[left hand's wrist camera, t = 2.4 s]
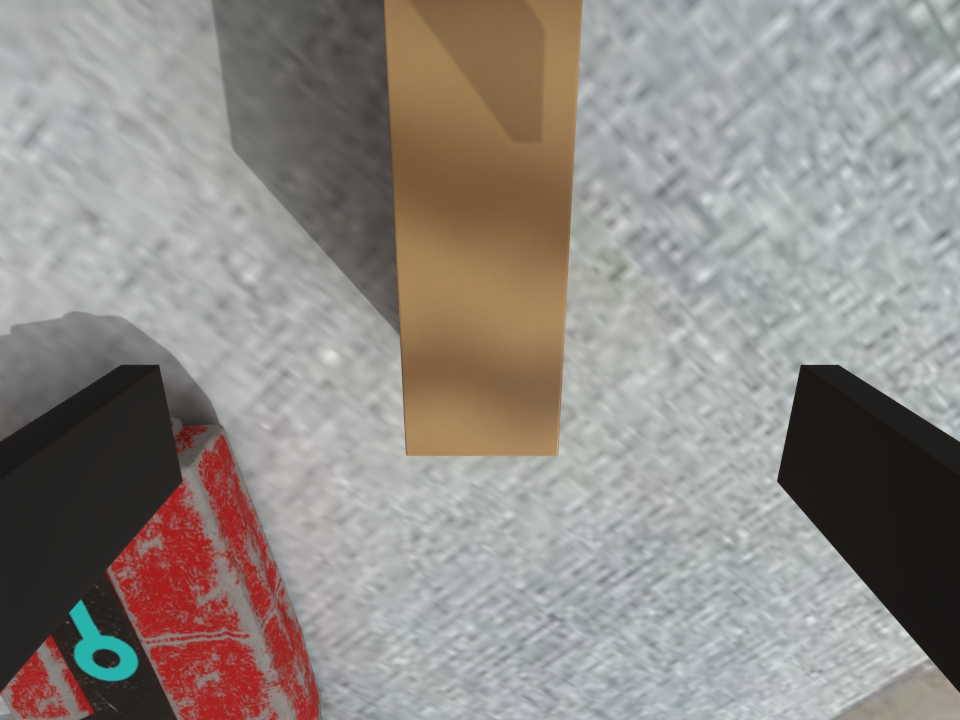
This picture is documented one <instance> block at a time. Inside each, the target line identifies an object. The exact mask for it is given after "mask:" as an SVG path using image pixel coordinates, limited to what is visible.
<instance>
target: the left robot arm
mask: <svg viewBox="0 0 960 720" xmlns="http://www.w3.org/2000/svg"><path fill="white" fill-rule="evenodd" d="M182 482H183V479H182V474H181V469H180V465H179V460H178V455H177V450H176V445H175V440H174V435H173V430H172V426H171V421H170V416H169V411H168V406H167V401H166V396H165V392H164V387H163V382H162V377H161V372H160V367H159V365H121V366H119V367H118V368H116V369H114V370H113V371H111V372H110V373H108V374H107V375H105V376H103V377H102V378H100V379H99V380H97V381H95V382H94V383H92V384H91V385H89V386H88V387H86V388H84V389H83V390H81V391H80V392H78V393H77V394H75V395H73V396H72V397H70V398H69V399H67V400H66V401H64V402H62V403H61V404H59V405H58V406H56V407H54V408H53V409H51V410H50V411H48V412H47V413H45V414H43V415H42V416H40V417H39V418H37V419H36V420H34V421H32V422H31V423H29V424H28V425H26V426H25V427H23V428H21V429H20V430H18V431H17V432H15V433H13V434H12V435H10V436H9V437H7V438H6V439H4V440H2V441H1V442H0V693H1V691H2V690H3V689H4V688H5V687H6V686H7V684H8V683H9V682H10V681H11V680H12V679H13V677H14V676H15V675H16V674H17V673H18V672H19V671H20V669H21V668H22V667H23V666H24V665H25V664H26V662H27V661H28V660H29V659H30V658H31V657H32V655H33V654H34V653H35V652H36V651H37V650H38V649H39V647H40V646H41V645H42V644H43V643H44V642H45V640H46V639H47V638H48V637H49V636H50V635H51V633H52V632H53V631H54V630H55V629H56V628H57V627H58V625H59V624H60V623H61V622H62V621H63V620H64V618H65V617H66V616H67V615H68V614H69V613H70V611H71V610H72V609H73V608H74V607H75V606H76V605H77V603H78V602H79V601H80V600H81V599H82V598H83V596H84V595H85V594H86V593H87V592H88V591H89V590H90V588H91V587H92V586H93V585H94V584H95V583H96V581H97V580H98V579H99V578H100V577H101V576H102V574H103V573H104V572H105V571H106V570H107V569H108V568H109V566H110V565H111V564H112V563H113V562H114V561H115V559H116V558H117V557H118V556H119V555H120V554H121V552H122V551H123V550H124V549H125V548H126V547H127V546H128V544H129V543H130V542H131V541H132V540H133V539H134V537H135V536H136V535H137V534H138V533H139V532H140V530H141V529H142V528H143V527H144V526H145V525H146V524H147V522H148V521H149V520H150V519H151V518H152V517H153V515H154V514H155V513H156V512H157V511H158V510H159V508H160V507H161V506H162V505H163V504H164V503H165V502H166V500H167V499H168V498H169V497H170V496H171V495H172V493H173V492H174V491H175V490H176V489H177V488H178V487H179V485H180V484H181V483H182ZM777 482H778V483H779V484H780V485H781V487H782V488H783V489H784V490H785V491H786V492H787V493H788V495H789V496H790V497H791V498H792V499H793V500H794V502H795V503H796V504H797V505H798V506H799V507H800V509H801V510H802V511H803V512H804V513H805V514H806V515H807V517H808V518H809V519H810V520H811V521H812V522H813V524H814V525H815V526H816V527H817V528H818V529H819V530H820V532H821V533H822V534H823V535H824V536H825V537H826V539H827V540H828V541H829V542H830V543H831V544H832V546H833V547H834V548H835V549H836V550H837V551H838V552H839V554H840V555H841V556H842V557H843V558H844V559H845V561H846V562H847V563H848V564H849V565H850V566H851V568H852V569H853V570H854V571H855V572H856V573H857V574H858V576H859V577H860V578H861V579H862V580H863V581H864V583H865V584H866V585H867V586H868V587H869V588H870V590H871V591H872V592H873V593H874V594H875V595H876V596H877V598H878V599H879V600H880V601H881V602H882V603H883V605H884V606H885V607H886V608H887V609H888V610H889V612H890V613H891V614H892V615H893V616H894V617H895V618H896V620H897V621H898V622H899V623H900V624H901V625H902V627H903V628H904V629H905V630H906V631H907V632H908V633H909V635H910V636H911V637H912V638H913V639H914V640H915V642H916V643H917V644H918V645H919V646H920V647H921V649H922V650H923V651H924V652H925V653H926V654H927V655H928V657H929V658H930V659H931V660H932V661H933V662H934V664H935V665H936V666H937V667H938V668H939V669H940V671H941V672H942V673H943V674H944V675H945V676H946V677H947V679H948V680H949V681H950V682H951V683H952V684H953V686H954V687H955V688H956V689H957V690H958V691H959V693H960V442H959V441H958V440H956V439H954V438H953V437H951V436H950V435H948V434H947V433H945V432H943V431H942V430H940V429H939V428H937V427H935V426H934V425H932V424H931V423H929V422H928V421H926V420H924V419H923V418H921V417H920V416H918V415H917V414H915V413H913V412H912V411H910V410H909V409H907V408H906V407H904V406H902V405H901V404H899V403H898V402H896V401H894V400H893V399H891V398H890V397H888V396H887V395H885V394H883V393H882V392H880V391H879V390H877V389H876V388H874V387H872V386H871V385H869V384H868V383H866V382H865V381H863V380H861V379H860V378H858V377H857V376H855V375H853V374H852V373H850V372H849V371H847V370H846V369H844V368H842V367H841V366H839V365H801V367H800V372H799V377H798V382H797V387H796V392H795V396H794V401H793V406H792V411H791V416H790V421H789V426H788V430H787V435H786V440H785V445H784V450H783V455H782V460H781V465H780V469H779V474H778V479H777Z"/></svg>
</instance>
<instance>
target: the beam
mask: <svg viewBox="0 0 960 720" xmlns="http://www.w3.org/2000/svg"><path fill="white" fill-rule="evenodd" d="M383 4H384V24H385V44H386V64H387V85H388V105H389V125H390V145H391V165H392V185H393V205H394V225H395V245H396V265H397V285H398V305H399V325H400V345H401V365H402V385H403V405H404V425H405V445H406V455H407V456H557V455H558V448H559V429H560V411H561V392H562V373H563V354H564V336H565V317H566V298H567V280H568V261H569V242H570V224H571V205H572V186H573V168H574V149H575V130H576V111H577V93H578V74H579V55H580V37H581V18H582V0H383Z"/></svg>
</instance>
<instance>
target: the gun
mask: <svg viewBox="0 0 960 720" xmlns="http://www.w3.org/2000/svg"><path fill="white" fill-rule="evenodd" d="M170 421H171V426H172V430H173V435H174V440H175V445H176V450H177V455H178V460H179V465H180V469H181V474H182V479H183V482H182V483H181V484H180V485H179V487H178V488H177V489H176V490H175V491H174V492H173V493H172V495H171V496H170V497H169V498H168V499H167V500H166V502H165V503H164V504H163V505H162V506H161V507H160V508H159V510H158V511H157V512H156V513H155V514H154V515H153V517H152V518H151V519H150V520H149V521H148V522H147V524H146V525H145V526H144V527H143V528H142V529H141V530H140V532H139V533H138V534H137V535H136V536H135V537H134V539H133V540H132V541H131V542H130V543H129V544H128V546H127V547H126V548H125V549H124V550H123V551H122V552H121V554H120V555H119V556H118V557H117V558H116V559H115V561H114V562H113V563H112V564H111V565H110V566H109V568H108V569H107V570H106V571H105V572H104V573H103V574H102V576H101V577H100V578H99V579H98V580H97V581H96V583H95V584H94V585H93V586H92V587H91V588H90V590H89V591H88V592H87V593H86V594H85V595H84V596H83V598H82V599H81V600H80V601H79V602H78V603H77V605H76V606H75V607H74V608H73V609H72V610H71V611H70V613H69V614H68V615H67V616H66V617H65V618H64V620H63V621H62V622H61V623H60V624H59V625H58V627H57V628H56V629H55V630H54V631H53V632H52V633H51V635H50V636H49V637H48V638H47V639H46V640H45V642H44V643H43V644H42V645H41V646H40V647H39V649H38V650H37V651H36V652H35V653H34V654H33V655H32V657H31V658H30V659H29V660H28V661H27V662H26V664H25V665H24V666H23V667H22V668H21V669H20V671H19V672H18V673H17V674H16V675H15V676H14V677H13V679H12V680H11V681H10V682H9V683H8V684H7V686H6V687H5V688H4V689H3V690H2V691H1V693H0V695H1V696H2V698H3V700H4V701H5V703H6V705H7V706H8V708H9V710H10V711H11V713H12V715H13V717H14V718H15V720H322V718H321V701H322V698H321V695H320V692H319V689H318V686H317V682H316V679H315V676H314V673H313V670H312V667H311V663H310V660H309V656H308V652H307V648H306V645H305V641H304V637H303V633H302V630H301V627H300V625H299V622H298V620H297V617H296V614H295V612H294V609H293V607H292V604H291V602H290V599H289V596H288V594H287V591H286V589H285V586H284V583H283V581H282V578H281V576H280V573H279V570H278V568H277V565H276V563H275V560H274V557H273V555H272V552H271V550H270V547H269V544H268V542H267V539H266V537H265V534H264V531H263V529H262V526H261V524H260V521H259V518H258V516H257V513H256V511H255V508H254V506H253V503H252V500H251V498H250V495H249V493H248V490H247V487H246V485H245V482H244V480H243V477H242V474H241V472H240V469H239V467H238V464H237V461H236V459H235V456H234V454H233V451H232V448H231V446H230V443H229V441H228V438H227V435H226V433H225V430H224V428H223V426H221V425H219V424H210V425H196V426H183V425H182V423H181V420H180V419H177V418H170Z"/></svg>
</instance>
